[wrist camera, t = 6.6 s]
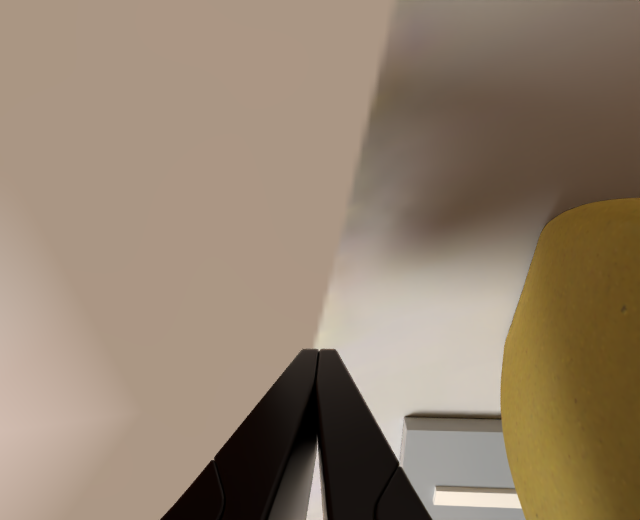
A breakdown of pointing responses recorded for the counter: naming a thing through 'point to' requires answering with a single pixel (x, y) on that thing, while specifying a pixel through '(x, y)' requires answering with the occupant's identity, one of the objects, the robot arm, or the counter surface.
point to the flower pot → (577, 369)
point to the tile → (460, 468)
